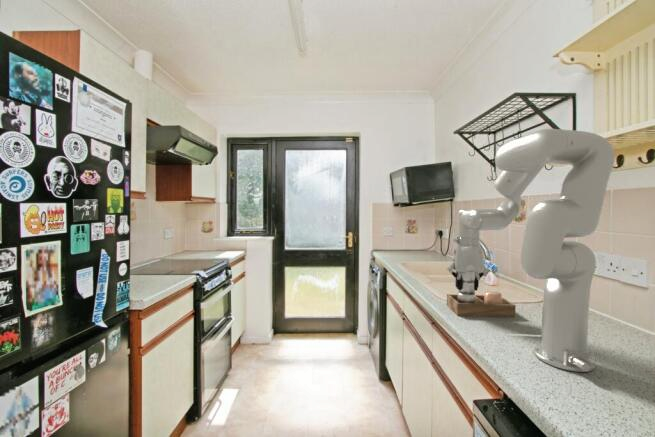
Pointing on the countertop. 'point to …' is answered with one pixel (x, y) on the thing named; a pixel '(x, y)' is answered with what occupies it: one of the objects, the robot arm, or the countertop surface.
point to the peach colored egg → (492, 297)
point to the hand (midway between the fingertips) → (466, 288)
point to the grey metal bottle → (467, 286)
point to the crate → (481, 307)
